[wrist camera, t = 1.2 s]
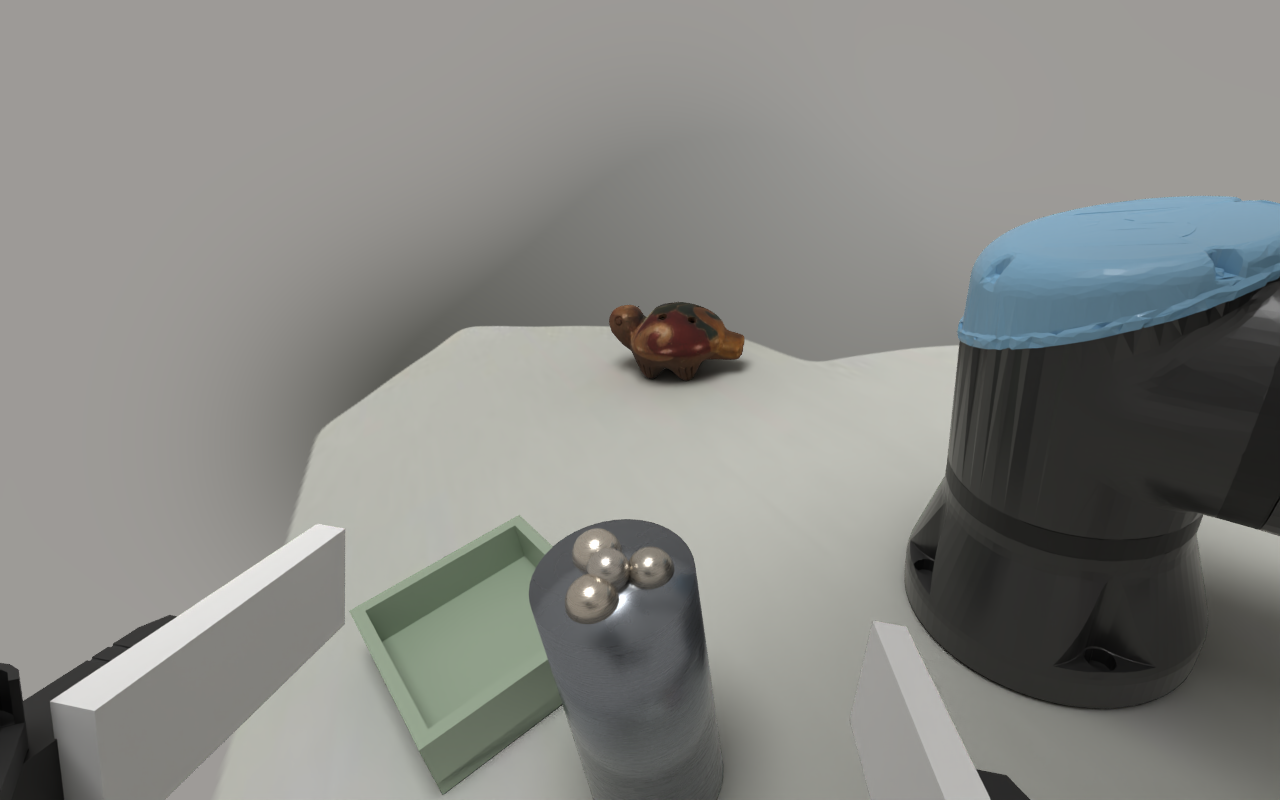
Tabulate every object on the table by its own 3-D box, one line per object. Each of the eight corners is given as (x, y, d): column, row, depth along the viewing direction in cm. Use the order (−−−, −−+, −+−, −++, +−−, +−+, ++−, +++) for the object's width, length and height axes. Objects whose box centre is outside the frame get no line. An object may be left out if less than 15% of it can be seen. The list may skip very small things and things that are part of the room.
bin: (531, 554, 49) (519, 515, 47) (629, 653, 40) (618, 609, 38) (371, 652, 43) (349, 611, 41) (442, 794, 34) (418, 750, 32)
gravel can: (664, 684, 38) (622, 474, 30) (751, 771, 32) (728, 545, 25) (565, 764, 34) (490, 551, 27) (645, 876, 29) (581, 652, 21)
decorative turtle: (622, 353, 78) (617, 290, 75) (747, 356, 75) (748, 291, 71) (602, 388, 70) (594, 320, 66) (741, 393, 67) (741, 322, 63)
